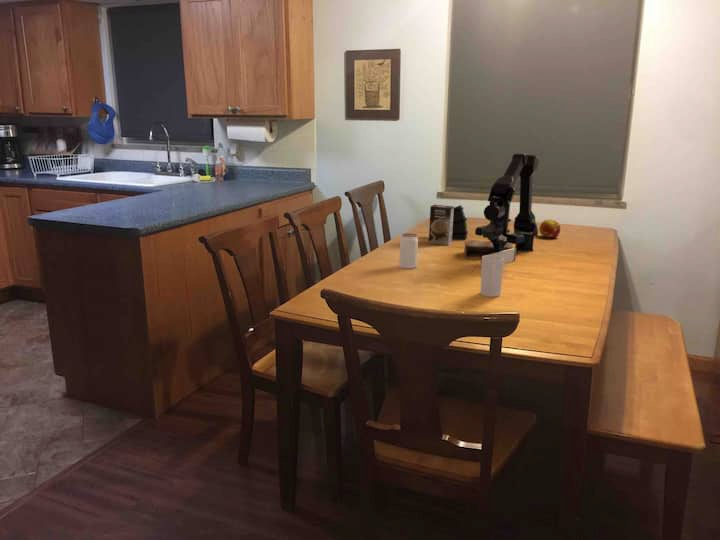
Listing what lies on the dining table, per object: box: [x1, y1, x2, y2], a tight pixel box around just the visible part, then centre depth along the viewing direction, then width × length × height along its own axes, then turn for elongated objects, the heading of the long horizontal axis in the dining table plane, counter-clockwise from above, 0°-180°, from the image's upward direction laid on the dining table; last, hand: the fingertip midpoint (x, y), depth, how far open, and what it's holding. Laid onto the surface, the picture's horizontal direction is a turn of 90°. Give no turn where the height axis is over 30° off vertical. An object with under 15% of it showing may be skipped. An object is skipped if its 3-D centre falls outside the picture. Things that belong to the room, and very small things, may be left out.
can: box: [398, 232, 419, 270], centre depth 222 cm, size 6×6×12 cm
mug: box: [479, 255, 505, 298], centre depth 190 cm, size 10×7×12 cm, turn 170°
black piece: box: [452, 204, 469, 241], centre depth 272 cm, size 4×13×15 cm, turn 66°
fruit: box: [538, 219, 561, 239], centre depth 277 cm, size 10×9×8 cm
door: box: [489, 247, 517, 265], centre depth 229 cm, size 17×2×5 cm, turn 133°
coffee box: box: [428, 204, 455, 246], centre depth 261 cm, size 9×6×16 cm
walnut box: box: [464, 239, 514, 260], centre depth 241 cm, size 18×10×5 cm, turn 82°
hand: (497, 256), depth 230 cm, fingers closed
